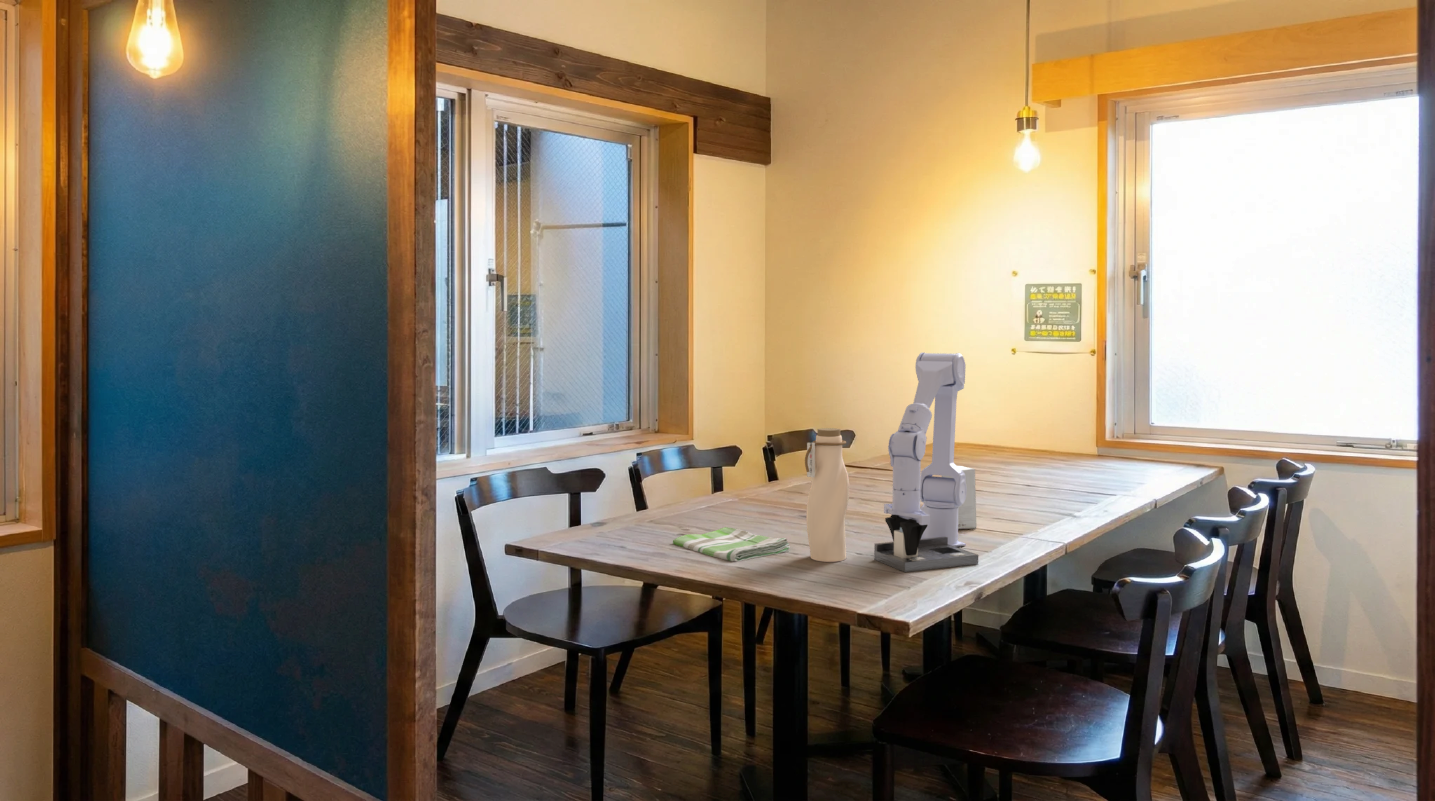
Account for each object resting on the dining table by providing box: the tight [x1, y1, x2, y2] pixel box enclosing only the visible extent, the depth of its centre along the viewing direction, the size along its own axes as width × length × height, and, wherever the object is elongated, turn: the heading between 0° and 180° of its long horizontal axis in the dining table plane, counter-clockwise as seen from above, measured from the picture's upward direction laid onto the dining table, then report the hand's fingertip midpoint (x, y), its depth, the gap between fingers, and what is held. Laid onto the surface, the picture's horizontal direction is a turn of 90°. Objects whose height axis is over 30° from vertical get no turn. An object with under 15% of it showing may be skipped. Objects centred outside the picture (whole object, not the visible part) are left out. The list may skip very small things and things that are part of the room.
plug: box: [894, 527, 918, 558], centre depth 210 cm, size 4×4×8 cm
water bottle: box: [804, 427, 850, 563], centre depth 215 cm, size 10×9×28 cm
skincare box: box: [941, 465, 977, 530], centre depth 249 cm, size 8×6×15 cm
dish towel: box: [672, 526, 791, 563], centre depth 226 cm, size 17×23×4 cm
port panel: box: [873, 537, 979, 573], centre depth 212 cm, size 12×18×4 cm, turn 112°
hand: (905, 552), depth 210 cm, fingers closed on plug, 4 cm apart
